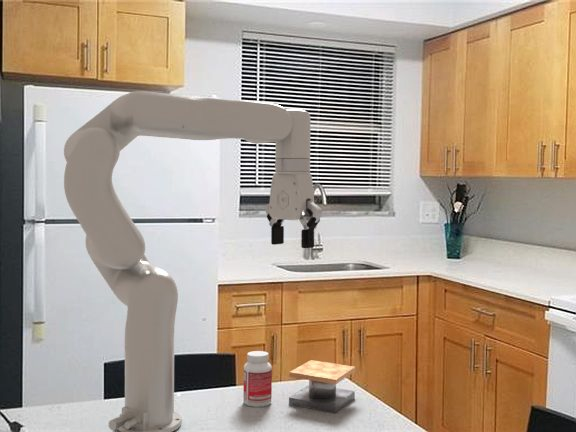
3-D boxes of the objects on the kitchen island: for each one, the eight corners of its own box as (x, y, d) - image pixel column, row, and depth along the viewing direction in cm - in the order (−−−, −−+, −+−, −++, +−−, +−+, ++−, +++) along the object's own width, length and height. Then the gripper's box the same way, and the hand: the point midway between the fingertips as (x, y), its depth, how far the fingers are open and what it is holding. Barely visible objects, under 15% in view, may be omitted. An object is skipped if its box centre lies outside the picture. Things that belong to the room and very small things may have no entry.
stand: (335, 413, 140) (336, 379, 139) (288, 404, 145) (289, 372, 144) (354, 398, 149) (355, 366, 149) (310, 390, 154) (310, 360, 154)
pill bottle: (277, 403, 145) (277, 353, 145) (256, 410, 141) (256, 358, 140) (258, 396, 150) (259, 348, 149) (237, 402, 145) (238, 352, 145)
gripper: (254, 167, 148) (253, 243, 149) (308, 167, 135) (307, 250, 136) (279, 167, 153) (278, 241, 154) (333, 167, 140) (332, 248, 141)
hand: (292, 245), depth 145 cm, fingers open, 9 cm apart
